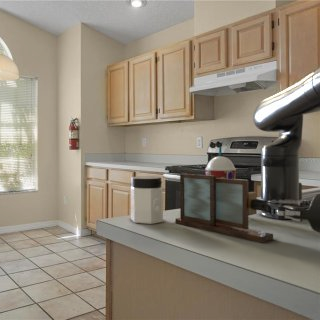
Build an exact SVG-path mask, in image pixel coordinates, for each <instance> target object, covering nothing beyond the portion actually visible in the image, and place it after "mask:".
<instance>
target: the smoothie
mask: <svg viewBox="0 0 320 320" xmlns="http://www.w3.org/2000/svg"><path fill="white" fill-rule="evenodd" d="M222 155H223V154H222V146H218V155H217V156H215V157H213V158H211V159H210V160H209V161H208V163H207V165H206V167H205V168H204V169H205V175H213V176H216V178H223V179H236V172H237V171H236V170H237V168H236V167H235V165H234V163H233V162H232V160H231V159H230V158H229V157H225V156H222Z"/></svg>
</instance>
